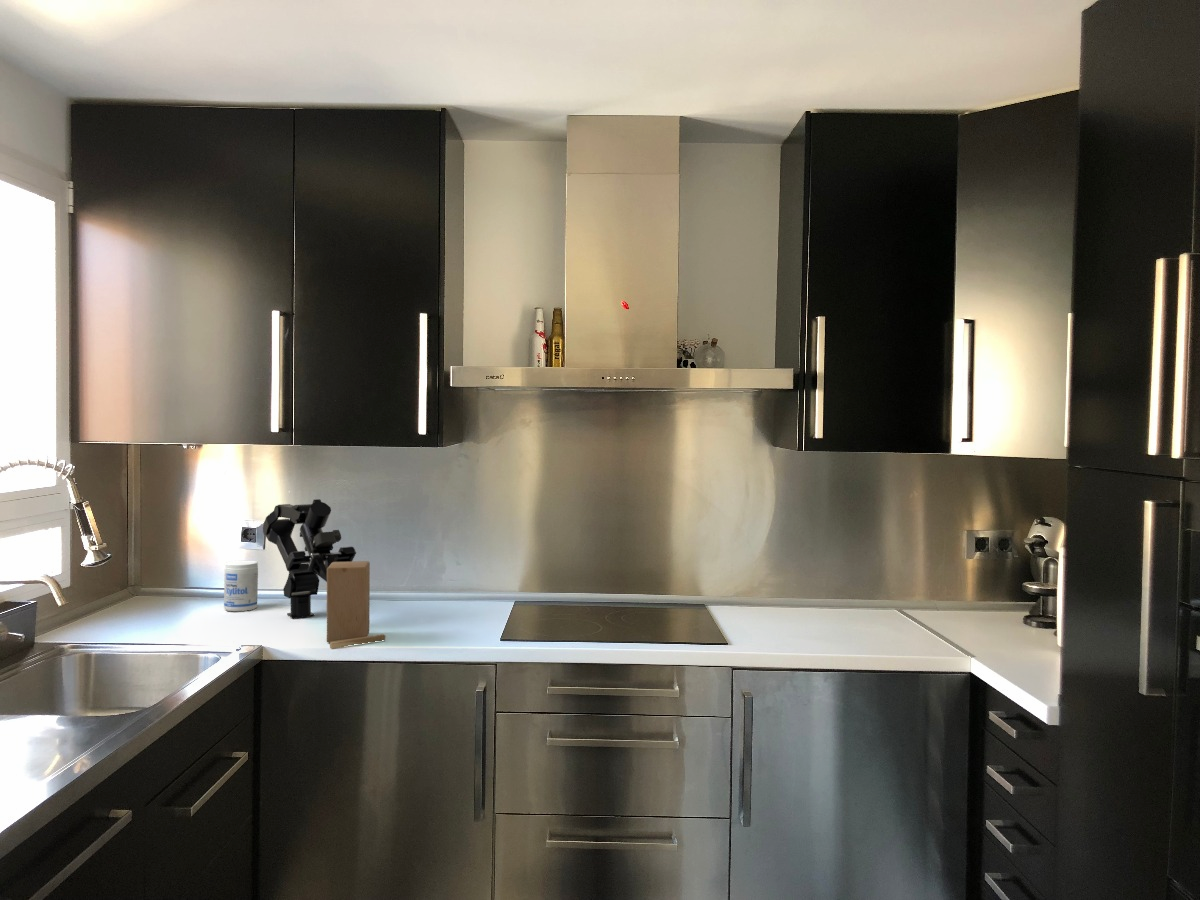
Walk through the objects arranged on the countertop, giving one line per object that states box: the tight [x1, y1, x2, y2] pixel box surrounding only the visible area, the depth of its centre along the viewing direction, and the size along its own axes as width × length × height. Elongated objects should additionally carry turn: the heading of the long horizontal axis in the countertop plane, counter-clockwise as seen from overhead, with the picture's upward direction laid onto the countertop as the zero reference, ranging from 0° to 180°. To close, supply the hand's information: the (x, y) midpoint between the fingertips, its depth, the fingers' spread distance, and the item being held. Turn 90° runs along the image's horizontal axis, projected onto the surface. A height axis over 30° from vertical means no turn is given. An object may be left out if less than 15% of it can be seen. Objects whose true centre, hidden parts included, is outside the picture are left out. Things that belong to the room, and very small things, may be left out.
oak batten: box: [329, 633, 386, 650], centre depth 203 cm, size 2×14×2 cm, turn 125°
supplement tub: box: [223, 560, 259, 612], centre depth 243 cm, size 10×10×15 cm
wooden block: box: [326, 560, 371, 643], centre depth 209 cm, size 10×10×20 cm
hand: (329, 582), depth 218 cm, fingers closed
